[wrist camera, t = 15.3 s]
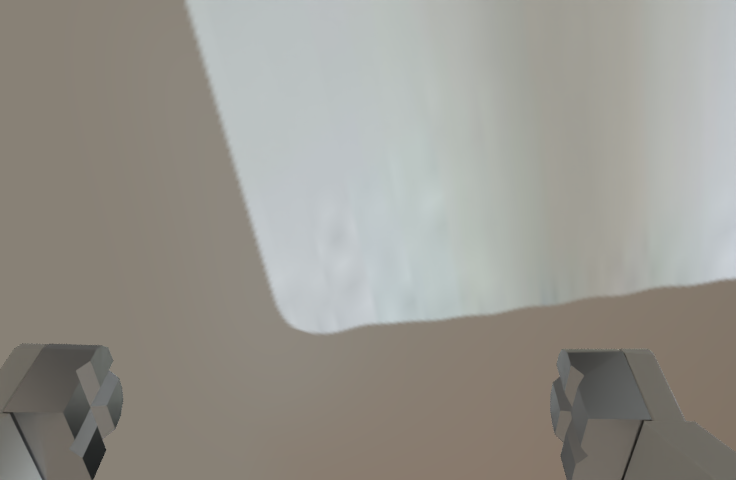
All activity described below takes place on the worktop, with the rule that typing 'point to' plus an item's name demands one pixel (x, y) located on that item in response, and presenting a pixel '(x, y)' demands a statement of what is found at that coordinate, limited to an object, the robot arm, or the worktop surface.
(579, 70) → the worktop surface
